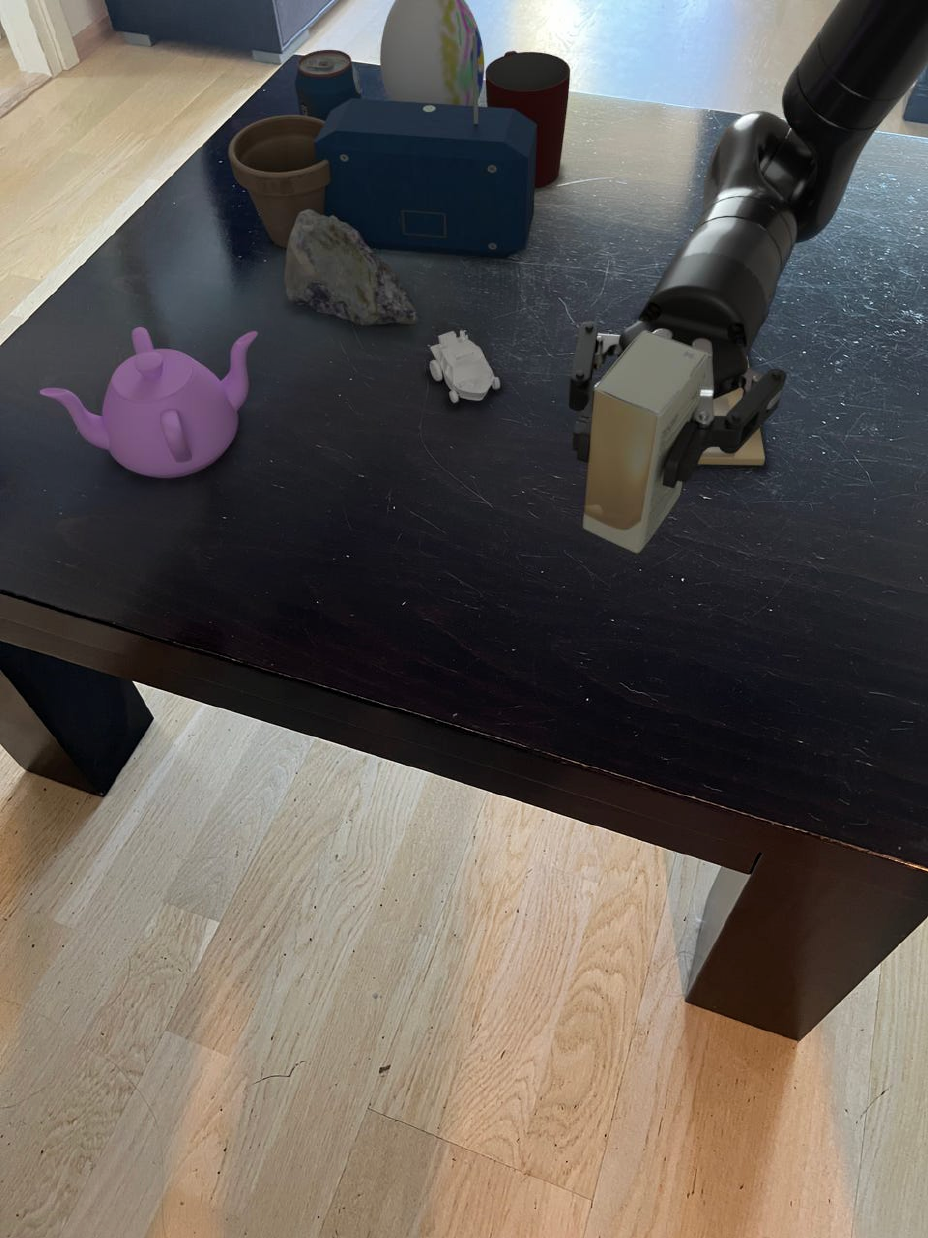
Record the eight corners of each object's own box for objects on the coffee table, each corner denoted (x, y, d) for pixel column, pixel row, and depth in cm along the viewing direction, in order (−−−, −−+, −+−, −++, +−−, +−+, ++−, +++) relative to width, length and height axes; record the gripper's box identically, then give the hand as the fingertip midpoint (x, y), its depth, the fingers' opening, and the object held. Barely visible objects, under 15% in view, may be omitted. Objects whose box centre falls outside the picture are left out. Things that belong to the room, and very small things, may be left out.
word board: (763, 465, 81) (766, 453, 80) (654, 463, 82) (656, 451, 81) (738, 318, 93) (741, 305, 92) (643, 317, 94) (645, 304, 93)
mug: (471, 146, 114) (468, 46, 105) (544, 134, 115) (546, 34, 107) (499, 199, 107) (498, 96, 98) (575, 185, 108) (581, 82, 99)
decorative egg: (485, 138, 115) (481, -2, 103) (382, 141, 116) (367, 2, 104) (485, 89, 123) (482, -47, 111) (389, 92, 123) (375, -43, 111)
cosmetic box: (624, 472, 67) (645, 323, 57) (682, 496, 65) (713, 348, 55) (577, 531, 64) (590, 385, 54) (636, 559, 62) (661, 414, 52)
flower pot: (338, 270, 101) (325, 176, 92) (233, 261, 102) (211, 168, 94) (364, 209, 107) (354, 117, 99) (265, 201, 109) (247, 110, 101)
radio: (535, 218, 105) (542, 16, 89) (523, 266, 100) (529, 59, 84) (347, 204, 107) (321, 4, 91) (326, 249, 102) (295, 46, 86)
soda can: (377, 158, 114) (364, 48, 104) (360, 189, 110) (345, 79, 100) (321, 153, 115) (303, 44, 105) (302, 184, 111) (282, 74, 101)
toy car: (470, 351, 92) (469, 314, 88) (510, 401, 87) (510, 363, 84) (424, 367, 91) (421, 330, 87) (462, 418, 86) (460, 381, 83)
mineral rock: (425, 338, 93) (417, 243, 85) (319, 369, 91) (300, 274, 83) (382, 267, 100) (370, 173, 92) (282, 293, 98) (261, 200, 90)
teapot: (76, 470, 84) (36, 389, 77) (172, 374, 91) (143, 293, 84) (188, 511, 81) (156, 430, 74) (278, 408, 88) (257, 326, 81)
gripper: (616, 228, 65) (514, 383, 56) (832, 275, 61) (758, 451, 52) (608, 321, 71) (514, 475, 62) (804, 370, 67) (733, 542, 58)
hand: (626, 463), depth 57 cm, fingers closed on cosmetic box, 4 cm apart
